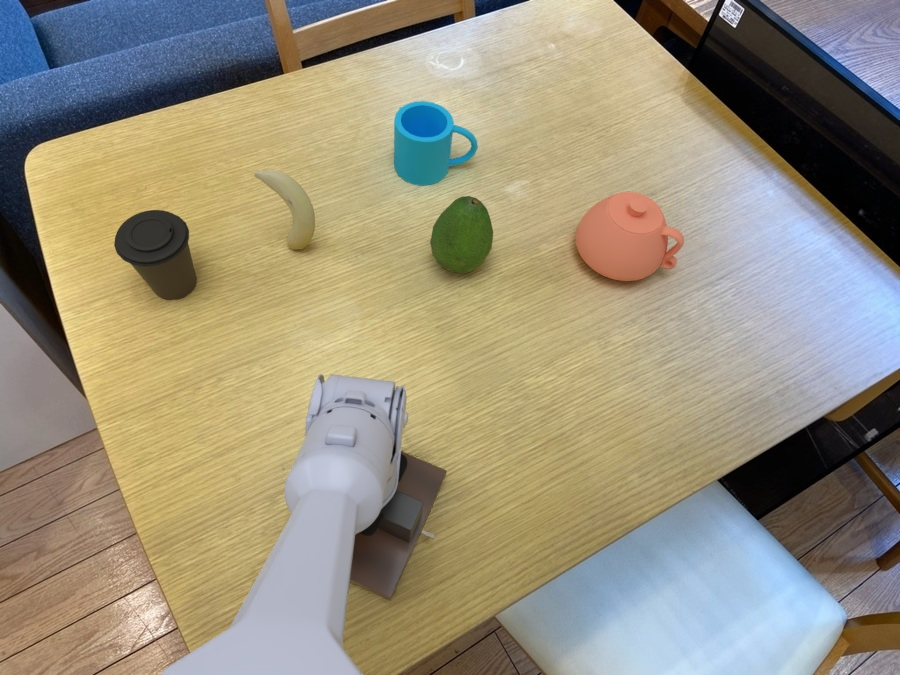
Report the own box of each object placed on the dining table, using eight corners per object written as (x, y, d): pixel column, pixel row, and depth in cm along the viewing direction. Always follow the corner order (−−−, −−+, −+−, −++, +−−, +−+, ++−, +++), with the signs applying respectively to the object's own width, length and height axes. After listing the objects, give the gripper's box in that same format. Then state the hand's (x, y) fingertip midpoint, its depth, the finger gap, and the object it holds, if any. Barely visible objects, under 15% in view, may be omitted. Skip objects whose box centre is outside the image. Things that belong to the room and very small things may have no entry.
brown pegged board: (402, 614, 62) (403, 611, 60) (266, 550, 64) (263, 545, 62) (460, 477, 69) (462, 471, 67) (337, 423, 71) (336, 416, 69)
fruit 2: (481, 291, 82) (495, 232, 72) (422, 279, 82) (428, 218, 72) (491, 246, 86) (505, 183, 76) (435, 234, 86) (442, 170, 76)
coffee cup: (219, 289, 79) (199, 239, 70) (157, 320, 76) (128, 271, 67) (190, 247, 82) (167, 193, 73) (129, 275, 79) (98, 222, 70)
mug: (393, 184, 90) (393, 140, 83) (394, 144, 95) (395, 99, 88) (475, 187, 92) (482, 144, 84) (473, 148, 96) (480, 104, 89)
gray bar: (421, 515, 65) (424, 501, 60) (409, 543, 63) (411, 530, 59) (327, 472, 66) (322, 455, 62) (312, 498, 65) (307, 482, 60)
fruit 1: (320, 258, 81) (330, 245, 82) (291, 177, 72) (303, 165, 74) (283, 252, 83) (294, 240, 84) (250, 172, 74) (263, 160, 76)
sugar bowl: (590, 208, 91) (611, 155, 83) (680, 248, 89) (712, 198, 80) (557, 265, 85) (576, 215, 77) (652, 310, 83) (684, 263, 74)
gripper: (359, 372, 57) (364, 429, 68) (274, 520, 49) (296, 555, 61) (430, 402, 56) (423, 455, 67) (355, 558, 48) (361, 586, 60)
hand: (367, 504), depth 64 cm, fingers closed on gray bar, 3 cm apart
